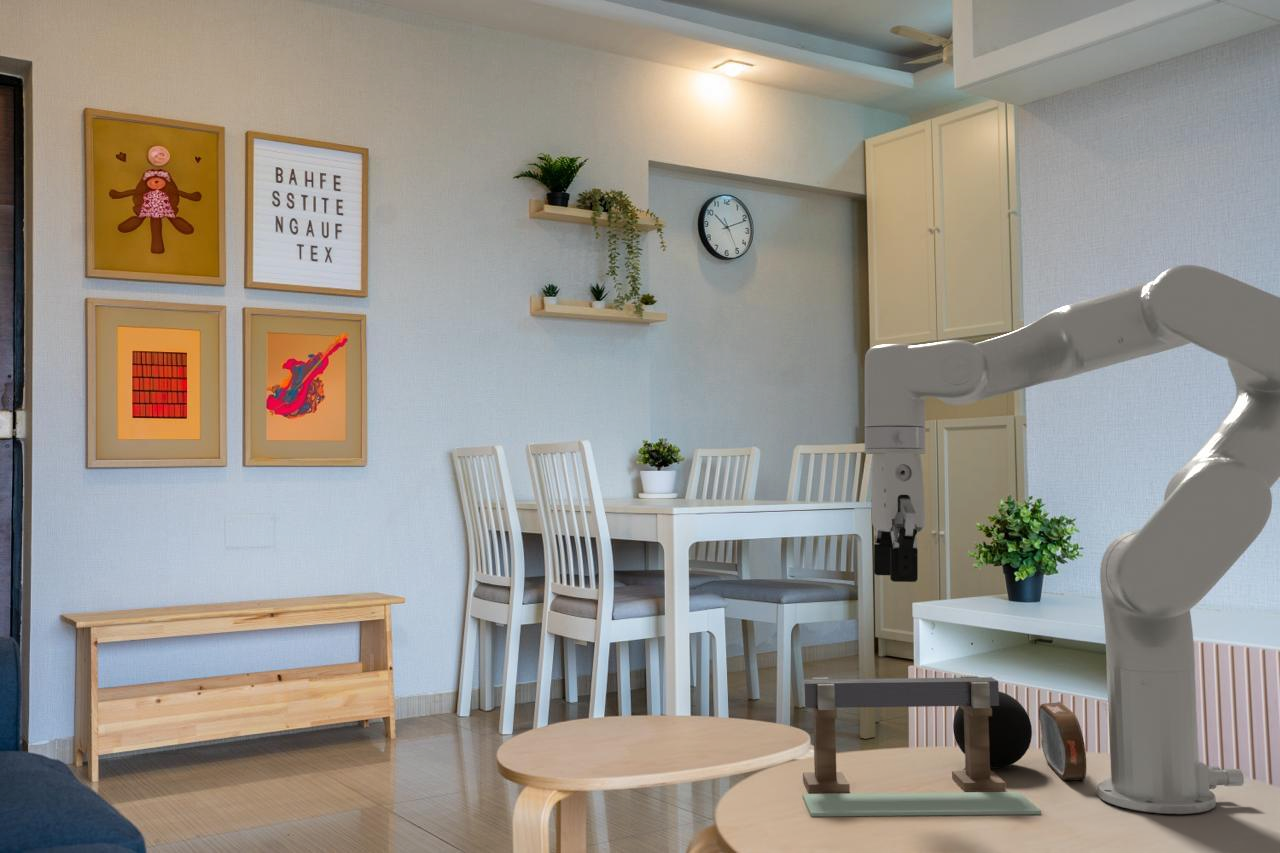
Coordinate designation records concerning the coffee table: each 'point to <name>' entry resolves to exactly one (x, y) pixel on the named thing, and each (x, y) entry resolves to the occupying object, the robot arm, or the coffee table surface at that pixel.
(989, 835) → the coffee table surface
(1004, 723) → the decorative ball
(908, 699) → the rail
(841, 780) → the rack
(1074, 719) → the tin
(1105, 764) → the coffee table surface
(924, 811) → the mat
